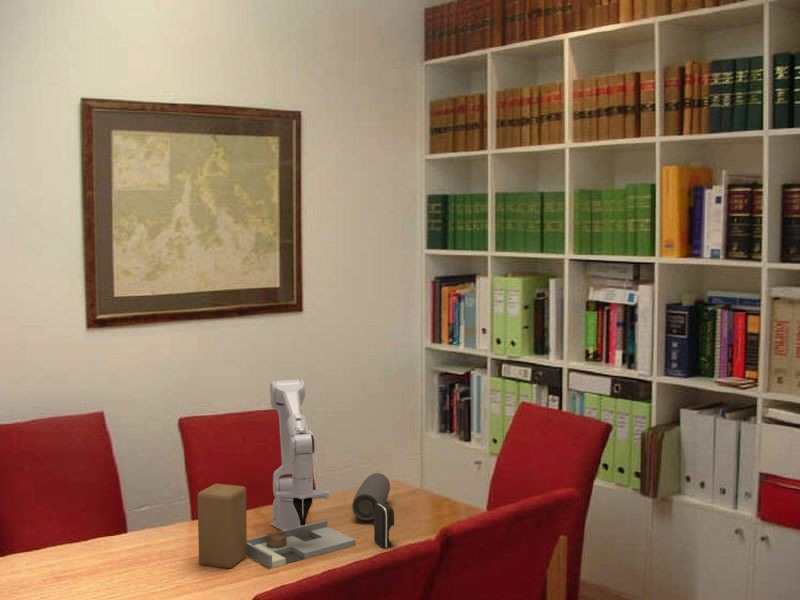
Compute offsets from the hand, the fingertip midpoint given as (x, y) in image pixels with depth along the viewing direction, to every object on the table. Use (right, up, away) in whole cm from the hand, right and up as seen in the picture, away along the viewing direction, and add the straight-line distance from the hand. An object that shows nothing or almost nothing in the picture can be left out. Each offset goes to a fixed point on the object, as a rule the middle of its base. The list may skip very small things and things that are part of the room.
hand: (302, 524), depth 276 cm
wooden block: (-21, -8, -8) cm, 24 cm away
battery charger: (+23, -7, +5) cm, 24 cm away
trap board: (-1, -7, +1) cm, 7 cm away
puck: (-7, -6, 0) cm, 9 cm away
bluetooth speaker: (+18, -4, +33) cm, 38 cm away
